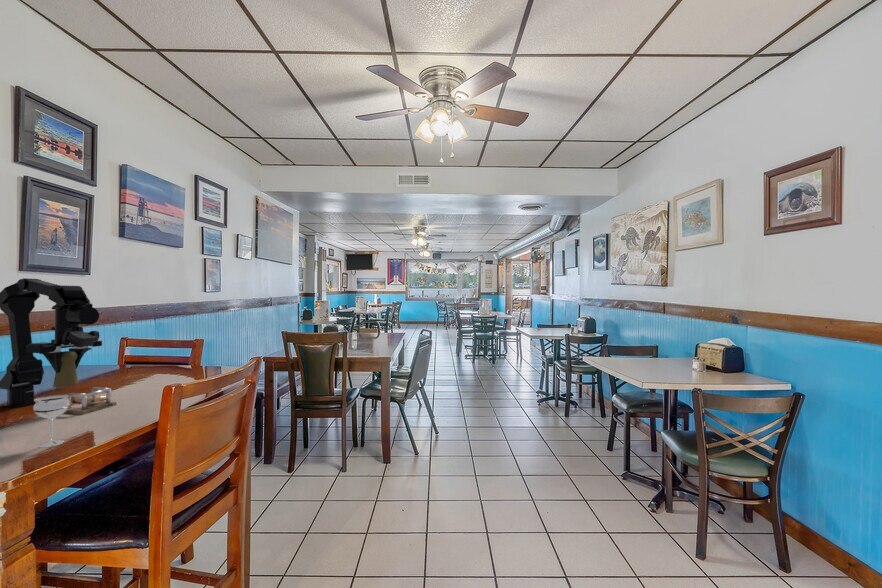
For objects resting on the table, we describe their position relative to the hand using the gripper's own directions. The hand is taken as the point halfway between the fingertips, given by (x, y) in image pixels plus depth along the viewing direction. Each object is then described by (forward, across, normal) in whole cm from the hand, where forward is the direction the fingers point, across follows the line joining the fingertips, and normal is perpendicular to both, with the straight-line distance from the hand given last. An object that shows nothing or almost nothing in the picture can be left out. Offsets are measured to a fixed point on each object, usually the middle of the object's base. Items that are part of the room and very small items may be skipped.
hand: (66, 371), depth 127 cm
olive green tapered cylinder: (+5, 0, 0) cm, 5 cm away
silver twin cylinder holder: (+13, +4, -4) cm, 14 cm away
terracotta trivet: (+13, +14, +6) cm, 20 cm away
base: (+13, +4, -4) cm, 14 cm away
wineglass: (+14, -23, -25) cm, 37 cm away
